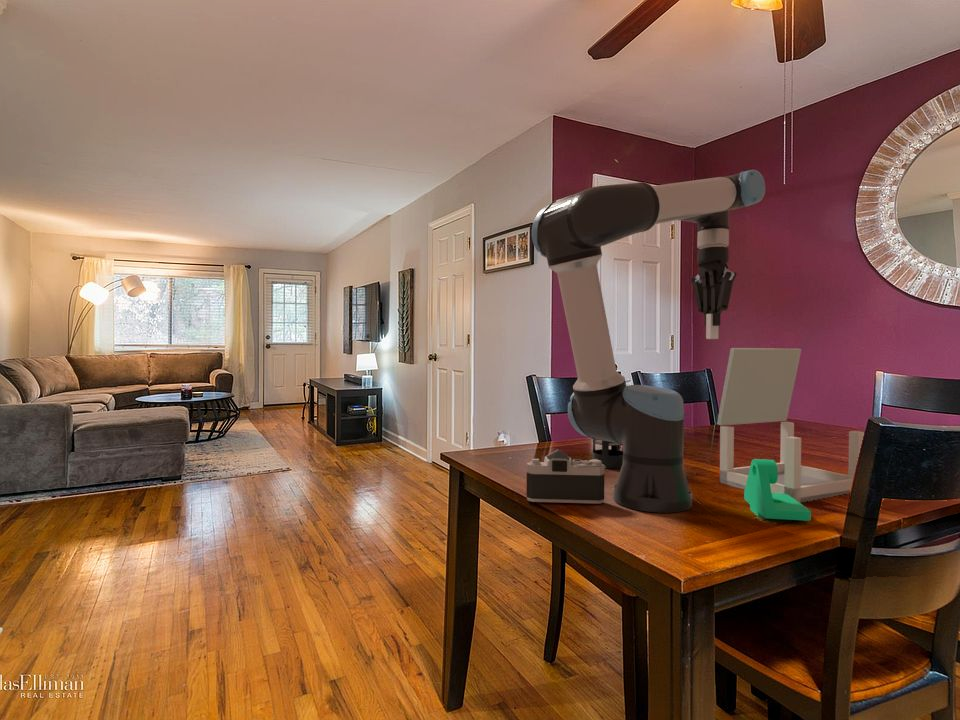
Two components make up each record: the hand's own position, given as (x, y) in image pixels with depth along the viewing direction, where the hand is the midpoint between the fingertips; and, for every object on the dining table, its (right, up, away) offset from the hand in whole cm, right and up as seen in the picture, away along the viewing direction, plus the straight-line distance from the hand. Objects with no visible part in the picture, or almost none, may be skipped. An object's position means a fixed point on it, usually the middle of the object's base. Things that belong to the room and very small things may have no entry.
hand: (712, 338), depth 135 cm
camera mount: (-6, -35, -39) cm, 52 cm away
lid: (+6, -12, -14) cm, 19 cm away
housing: (+8, -34, -20) cm, 40 cm away
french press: (-26, -34, +3) cm, 43 cm away
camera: (-43, -34, -28) cm, 62 cm away
